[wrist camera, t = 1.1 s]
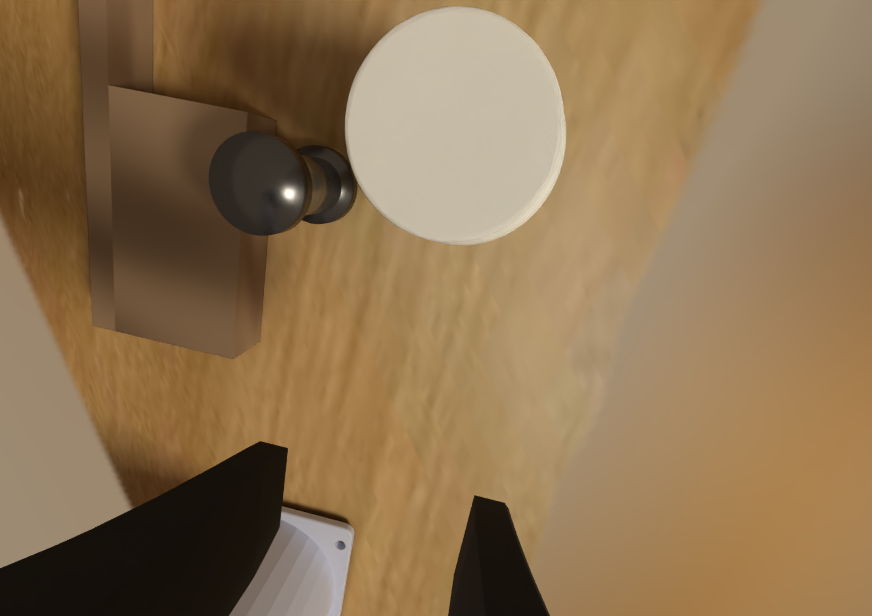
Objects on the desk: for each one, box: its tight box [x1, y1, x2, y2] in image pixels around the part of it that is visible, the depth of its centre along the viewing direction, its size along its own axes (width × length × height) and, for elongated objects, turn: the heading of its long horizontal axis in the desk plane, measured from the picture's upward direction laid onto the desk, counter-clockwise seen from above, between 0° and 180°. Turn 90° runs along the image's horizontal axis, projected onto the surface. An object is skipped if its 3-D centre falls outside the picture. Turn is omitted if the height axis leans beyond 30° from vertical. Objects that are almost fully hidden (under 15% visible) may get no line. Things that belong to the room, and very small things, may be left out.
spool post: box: [209, 131, 357, 236], centre depth 14 cm, size 3×3×5 cm
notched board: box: [78, 0, 277, 359], centre depth 16 cm, size 18×6×2 cm, turn 169°
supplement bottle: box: [345, 6, 566, 245], centre depth 12 cm, size 5×5×8 cm
